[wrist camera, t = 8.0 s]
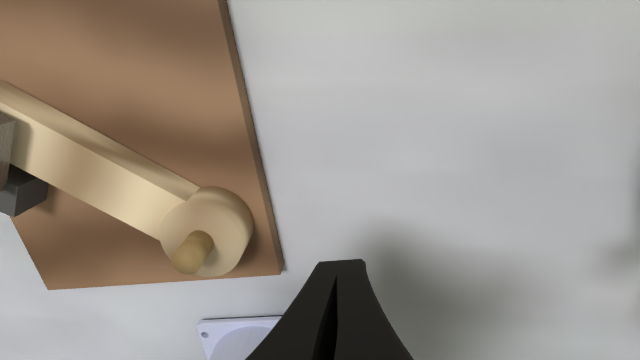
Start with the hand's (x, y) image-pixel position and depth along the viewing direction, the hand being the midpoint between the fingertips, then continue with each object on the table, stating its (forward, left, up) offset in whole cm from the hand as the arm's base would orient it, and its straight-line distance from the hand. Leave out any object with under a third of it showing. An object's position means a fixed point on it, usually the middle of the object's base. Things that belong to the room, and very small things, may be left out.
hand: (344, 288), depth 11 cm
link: (+1, +12, -9) cm, 15 cm away
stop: (+2, +18, -9) cm, 21 cm away
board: (+3, +13, -10) cm, 17 cm away
